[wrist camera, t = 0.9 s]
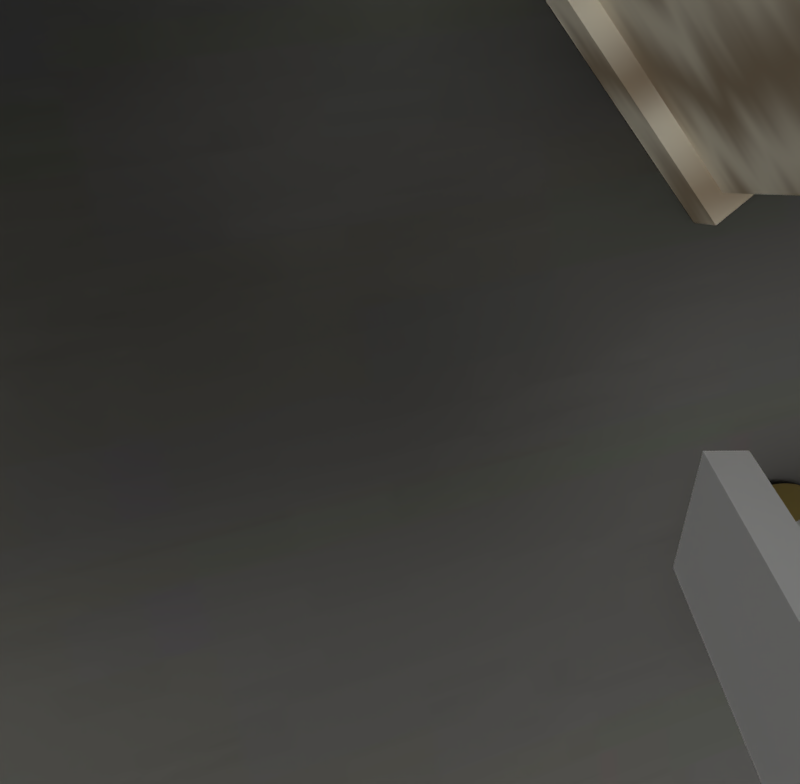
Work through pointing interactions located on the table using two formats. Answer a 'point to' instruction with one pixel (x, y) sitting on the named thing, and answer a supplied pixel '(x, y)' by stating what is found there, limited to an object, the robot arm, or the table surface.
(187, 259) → the table surface
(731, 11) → the tall wooden pillar
